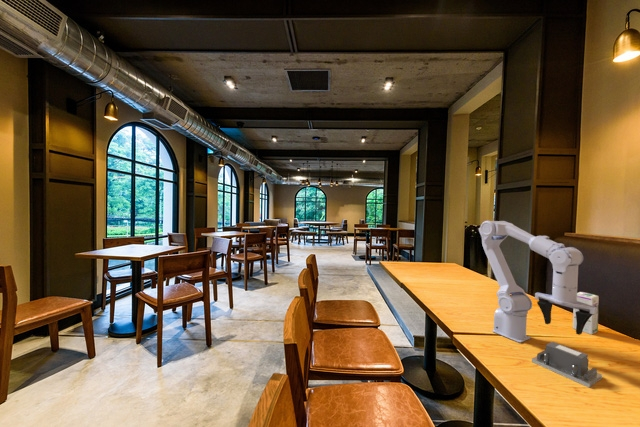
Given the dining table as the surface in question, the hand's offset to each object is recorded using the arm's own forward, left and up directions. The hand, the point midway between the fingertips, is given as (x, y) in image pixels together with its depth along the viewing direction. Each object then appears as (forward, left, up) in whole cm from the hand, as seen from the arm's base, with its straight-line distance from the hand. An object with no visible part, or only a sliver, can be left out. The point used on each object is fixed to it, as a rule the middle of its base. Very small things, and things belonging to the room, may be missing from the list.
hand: (562, 328), depth 83 cm
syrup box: (-5, +35, -10) cm, 37 cm away
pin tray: (+3, -6, -10) cm, 12 cm away
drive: (+3, -6, -9) cm, 11 cm away
